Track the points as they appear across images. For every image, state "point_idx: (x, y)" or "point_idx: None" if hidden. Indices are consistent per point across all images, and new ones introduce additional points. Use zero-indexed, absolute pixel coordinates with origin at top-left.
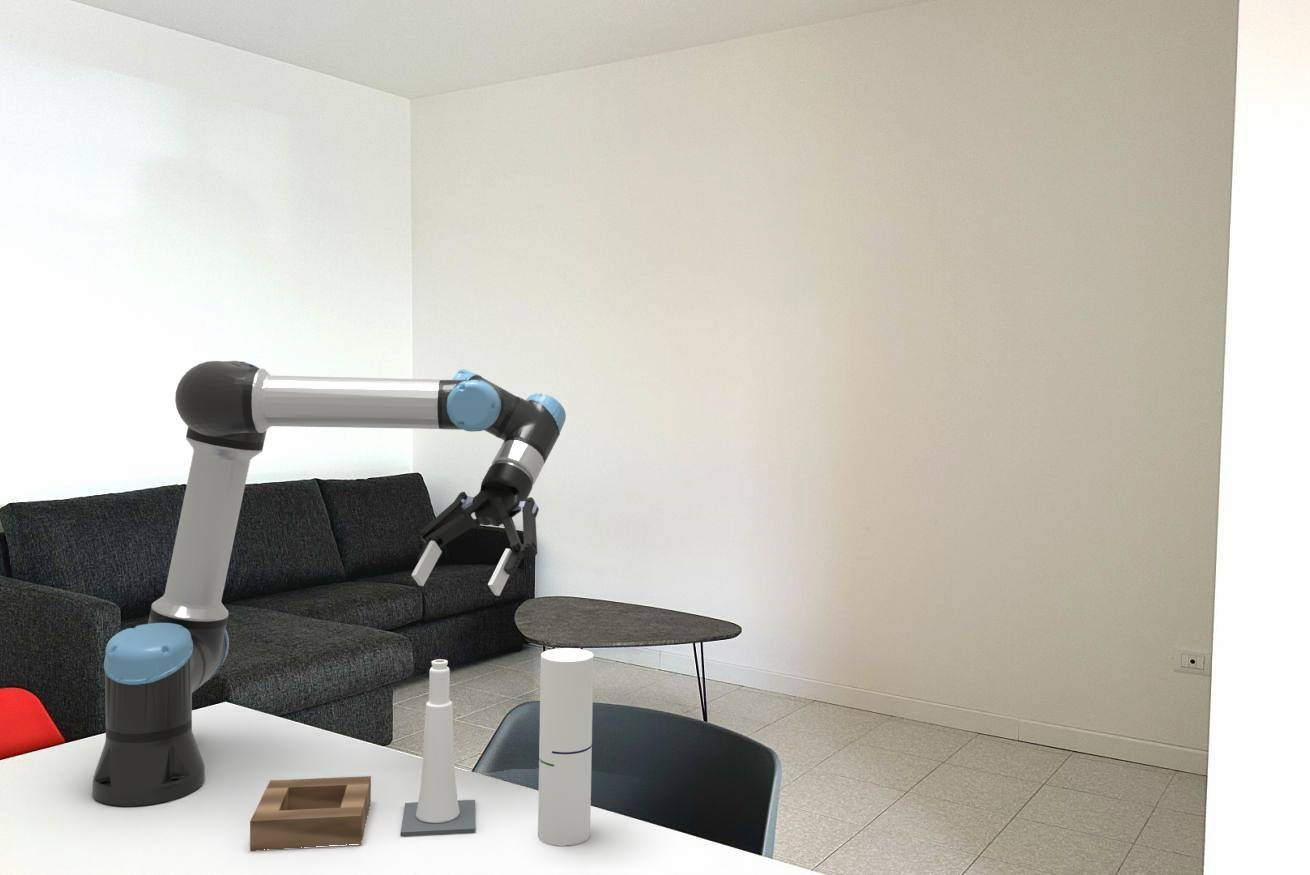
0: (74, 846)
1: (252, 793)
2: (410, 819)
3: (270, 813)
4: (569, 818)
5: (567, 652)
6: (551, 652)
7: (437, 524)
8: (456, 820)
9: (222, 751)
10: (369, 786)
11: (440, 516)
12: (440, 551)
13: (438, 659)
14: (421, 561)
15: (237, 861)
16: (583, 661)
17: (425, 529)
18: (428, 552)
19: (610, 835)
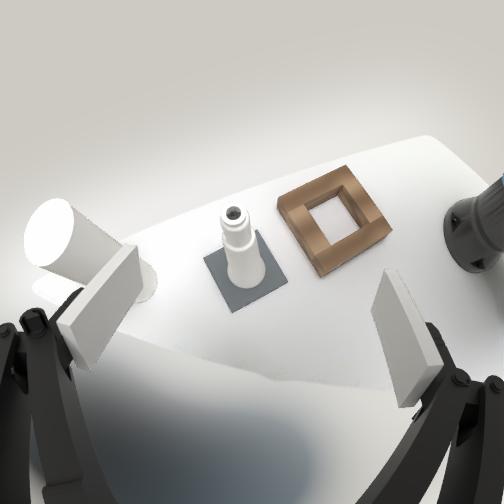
0: (427, 155)
1: (414, 255)
2: (263, 253)
3: (343, 178)
4: None
5: (47, 241)
6: (63, 232)
7: (479, 441)
8: (225, 266)
9: (482, 314)
10: (317, 261)
11: (495, 471)
12: (401, 399)
13: (239, 219)
14: (405, 300)
15: (336, 163)
16: (31, 217)
17: (499, 401)
18: (410, 326)
19: None
